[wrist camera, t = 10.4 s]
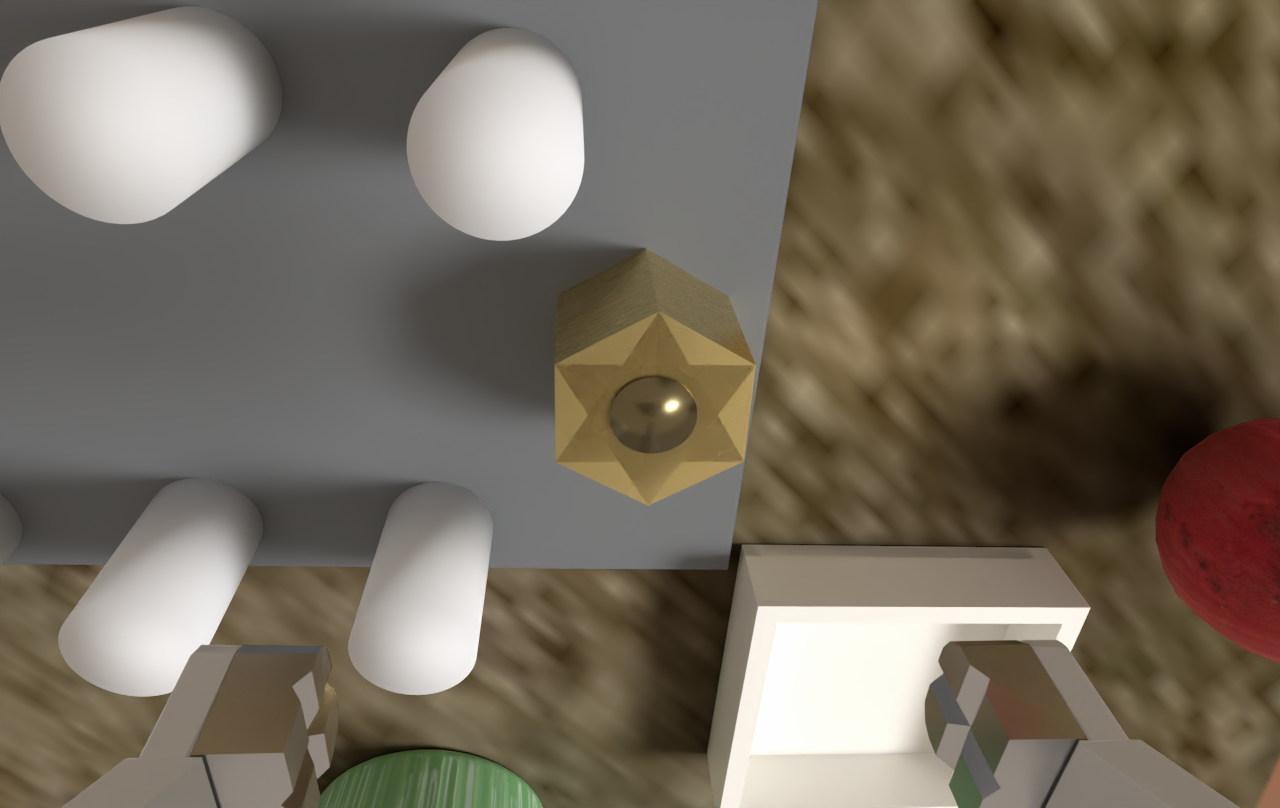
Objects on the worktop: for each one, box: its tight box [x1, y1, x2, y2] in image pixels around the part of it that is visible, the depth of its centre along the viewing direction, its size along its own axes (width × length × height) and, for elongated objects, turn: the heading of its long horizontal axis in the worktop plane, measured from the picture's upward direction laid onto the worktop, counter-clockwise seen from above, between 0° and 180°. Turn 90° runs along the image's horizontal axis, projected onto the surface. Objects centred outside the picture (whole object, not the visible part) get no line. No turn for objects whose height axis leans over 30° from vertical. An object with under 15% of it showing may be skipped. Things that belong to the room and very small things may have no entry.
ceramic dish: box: [707, 545, 1091, 808], centre depth 26 cm, size 9×9×2 cm
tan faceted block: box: [554, 248, 756, 506], centre depth 19 cm, size 5×4×4 cm
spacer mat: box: [0, 0, 818, 697], centre depth 17 cm, size 17×25×5 cm
